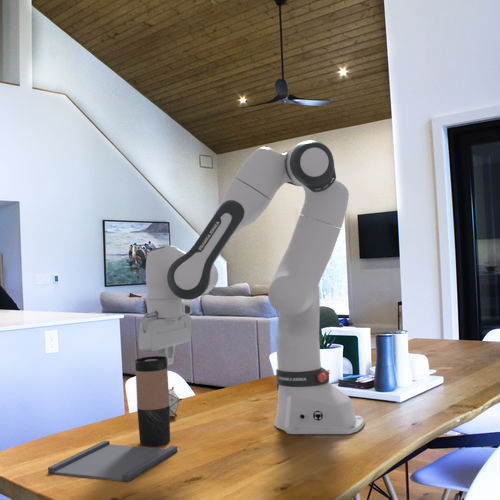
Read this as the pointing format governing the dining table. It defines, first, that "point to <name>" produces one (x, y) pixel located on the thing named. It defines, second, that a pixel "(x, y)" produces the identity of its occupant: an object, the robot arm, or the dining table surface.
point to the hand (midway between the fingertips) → (167, 364)
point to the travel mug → (153, 401)
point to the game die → (173, 402)
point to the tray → (112, 461)
